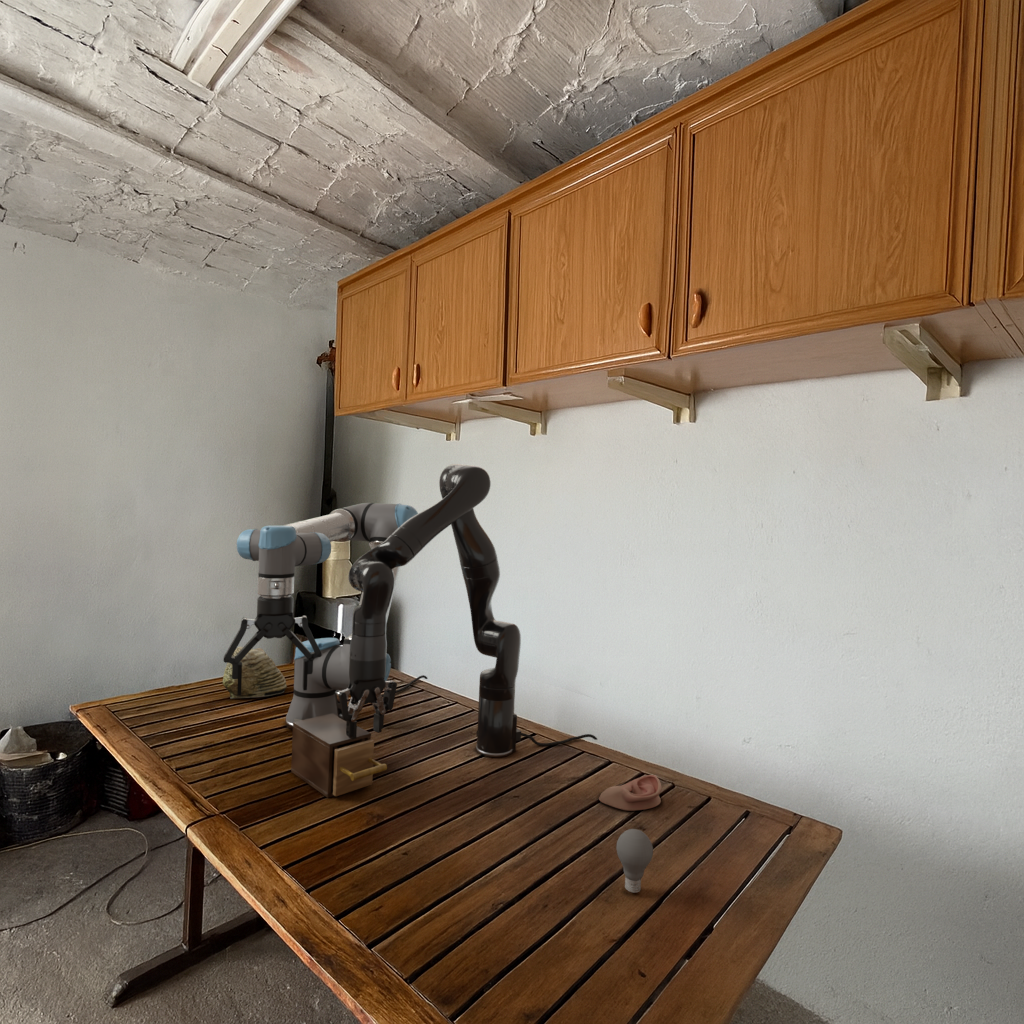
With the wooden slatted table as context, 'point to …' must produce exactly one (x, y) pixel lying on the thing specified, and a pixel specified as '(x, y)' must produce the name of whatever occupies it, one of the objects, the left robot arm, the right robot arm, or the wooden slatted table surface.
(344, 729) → the cabinet
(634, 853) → the light bulb
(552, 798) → the wooden slatted table surface
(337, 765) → the drawer
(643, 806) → the anatomical model
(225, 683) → the fossil
